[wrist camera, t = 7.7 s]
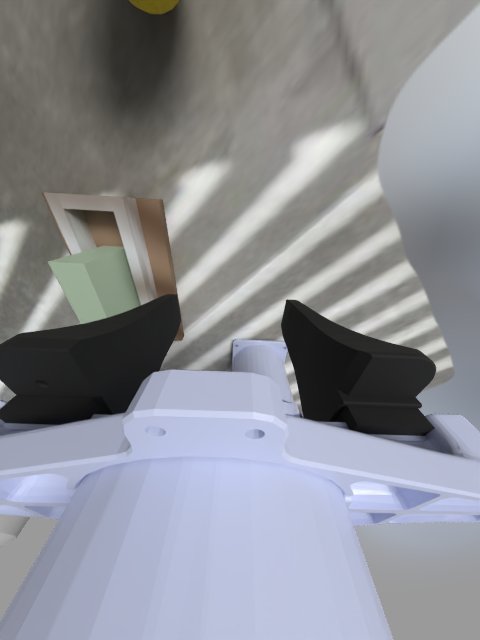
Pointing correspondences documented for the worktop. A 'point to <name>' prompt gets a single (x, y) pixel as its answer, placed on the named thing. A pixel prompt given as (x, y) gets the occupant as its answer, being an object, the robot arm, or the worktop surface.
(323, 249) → the worktop surface
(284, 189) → the worktop surface
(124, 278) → the pale green rectangular block
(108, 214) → the track base
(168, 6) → the lemon
